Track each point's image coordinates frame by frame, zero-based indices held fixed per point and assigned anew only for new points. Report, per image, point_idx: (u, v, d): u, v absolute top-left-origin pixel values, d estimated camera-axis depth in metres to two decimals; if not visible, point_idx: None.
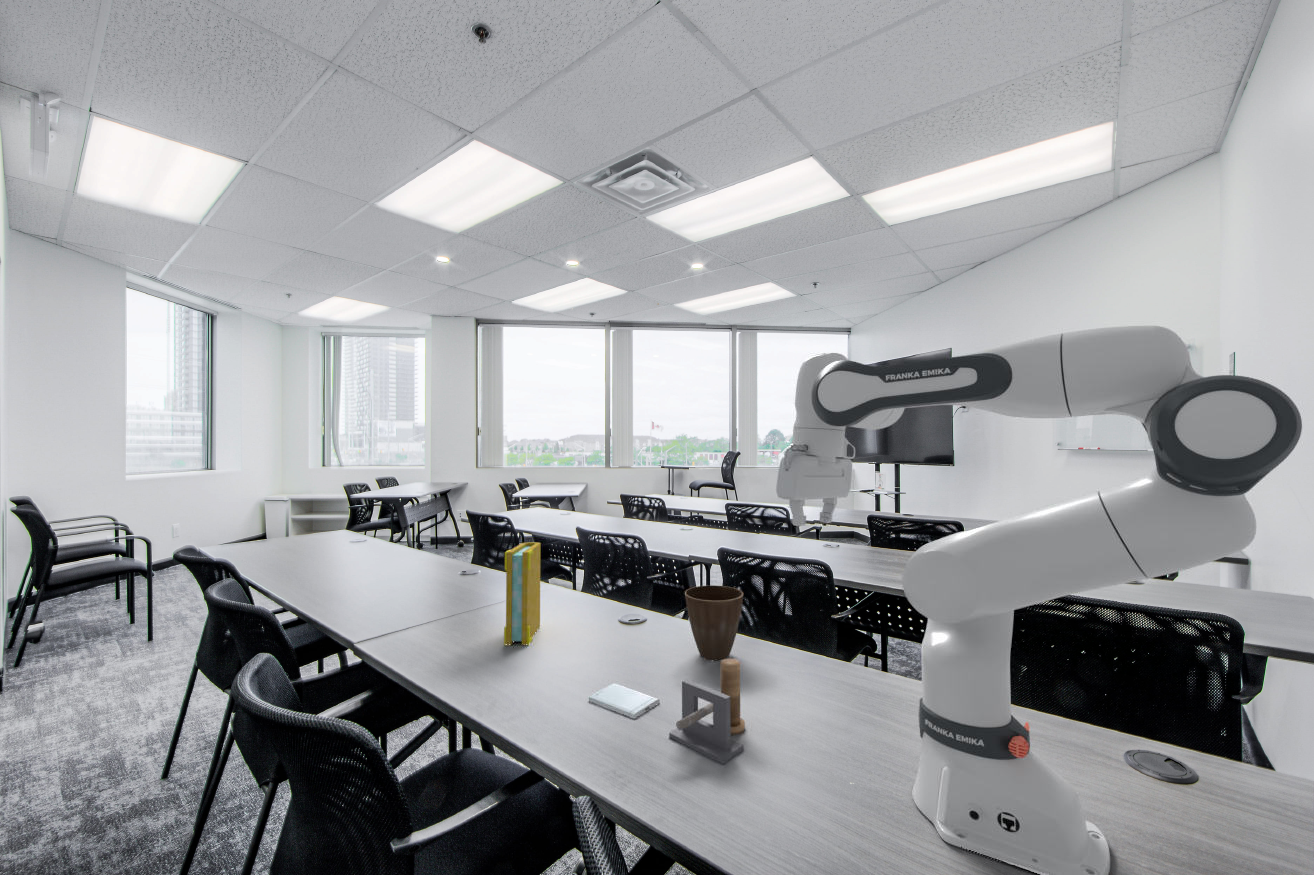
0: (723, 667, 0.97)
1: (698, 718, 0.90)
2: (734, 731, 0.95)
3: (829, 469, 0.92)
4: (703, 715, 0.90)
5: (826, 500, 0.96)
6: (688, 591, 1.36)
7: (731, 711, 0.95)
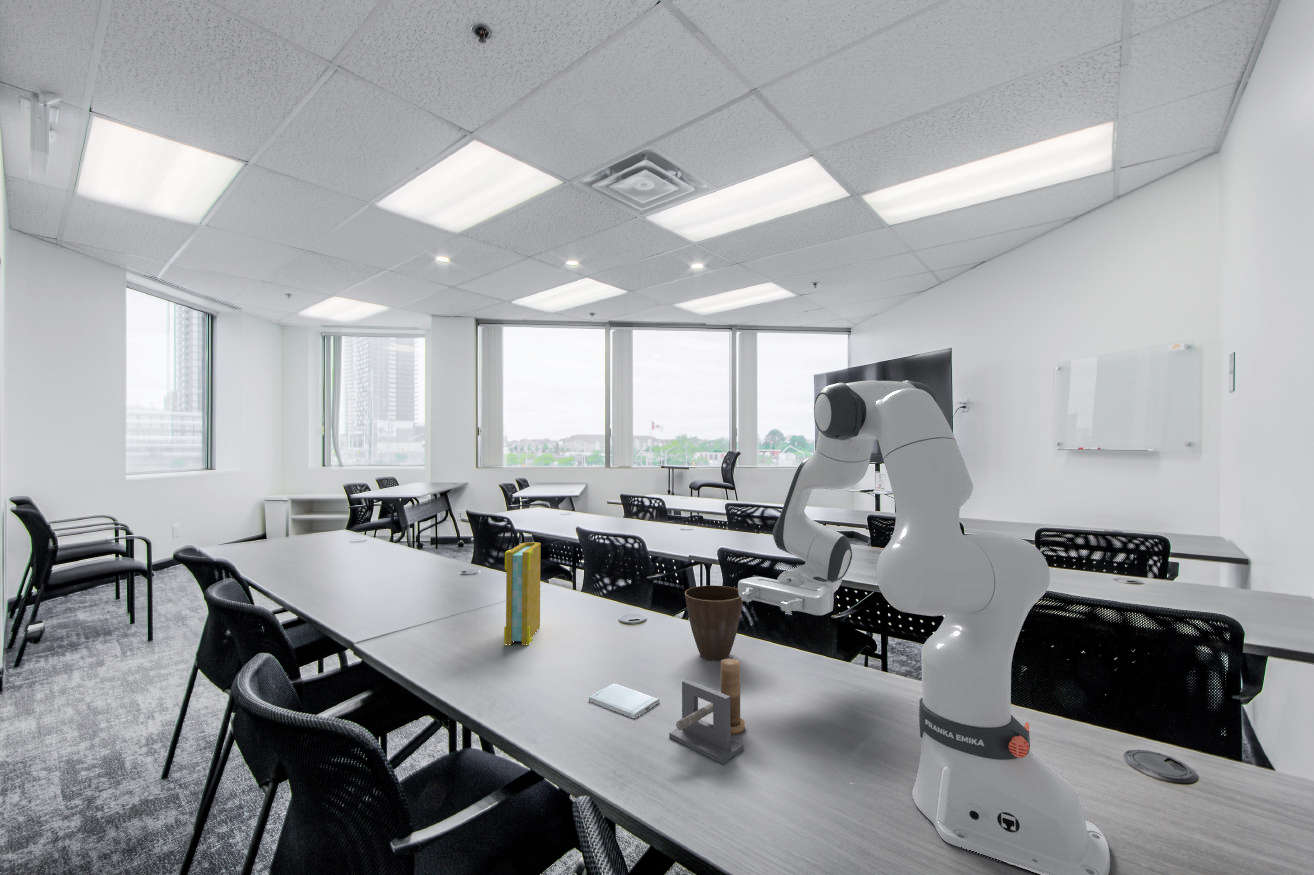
0: (723, 667, 0.97)
1: (698, 718, 0.90)
2: (734, 731, 0.95)
3: (795, 587, 1.12)
4: (703, 715, 0.90)
5: None
6: (688, 591, 1.36)
7: (731, 711, 0.95)
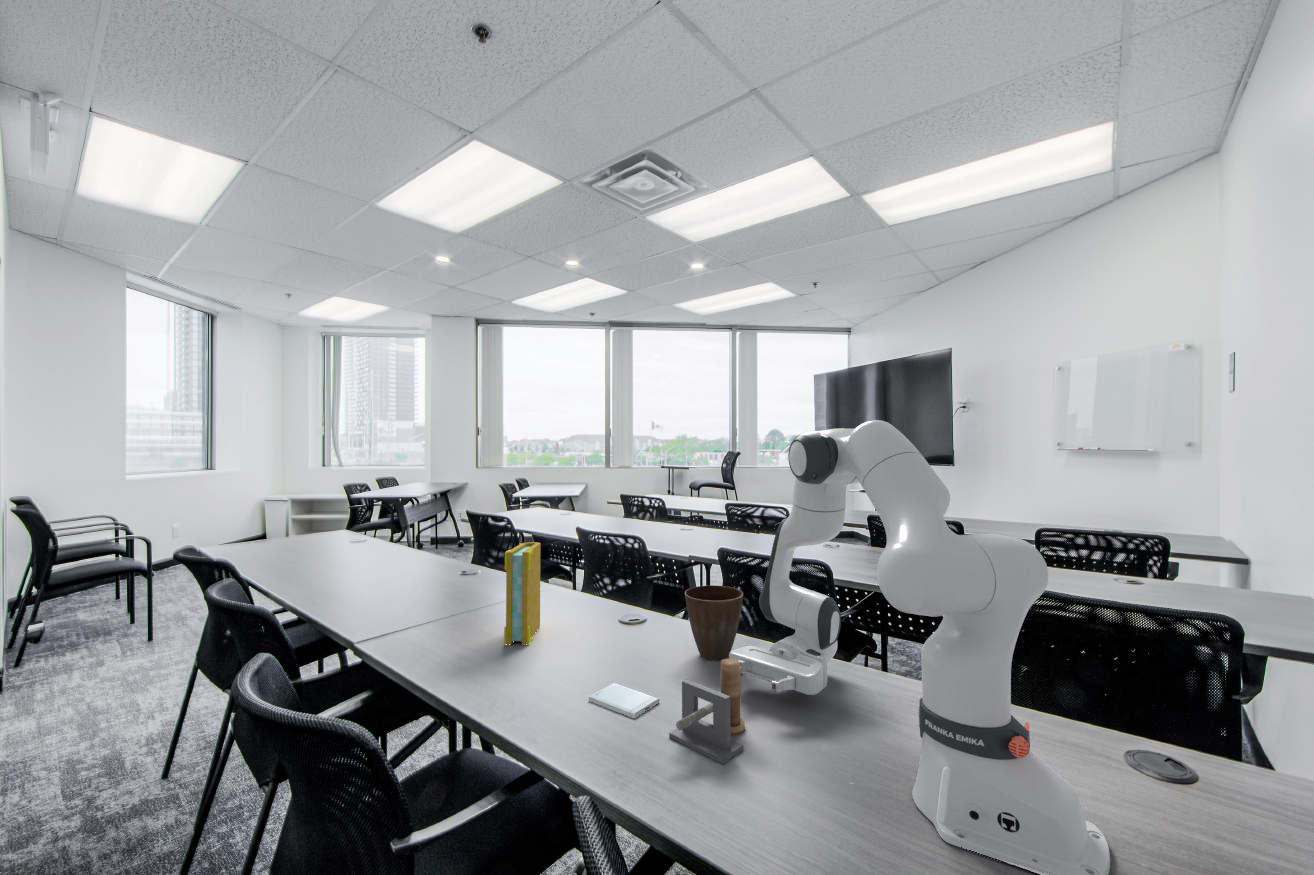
0: (722, 667, 0.97)
1: (698, 718, 0.90)
2: (734, 731, 0.95)
3: (788, 660, 1.09)
4: (703, 715, 0.90)
5: None
6: (688, 591, 1.36)
7: (731, 711, 0.95)
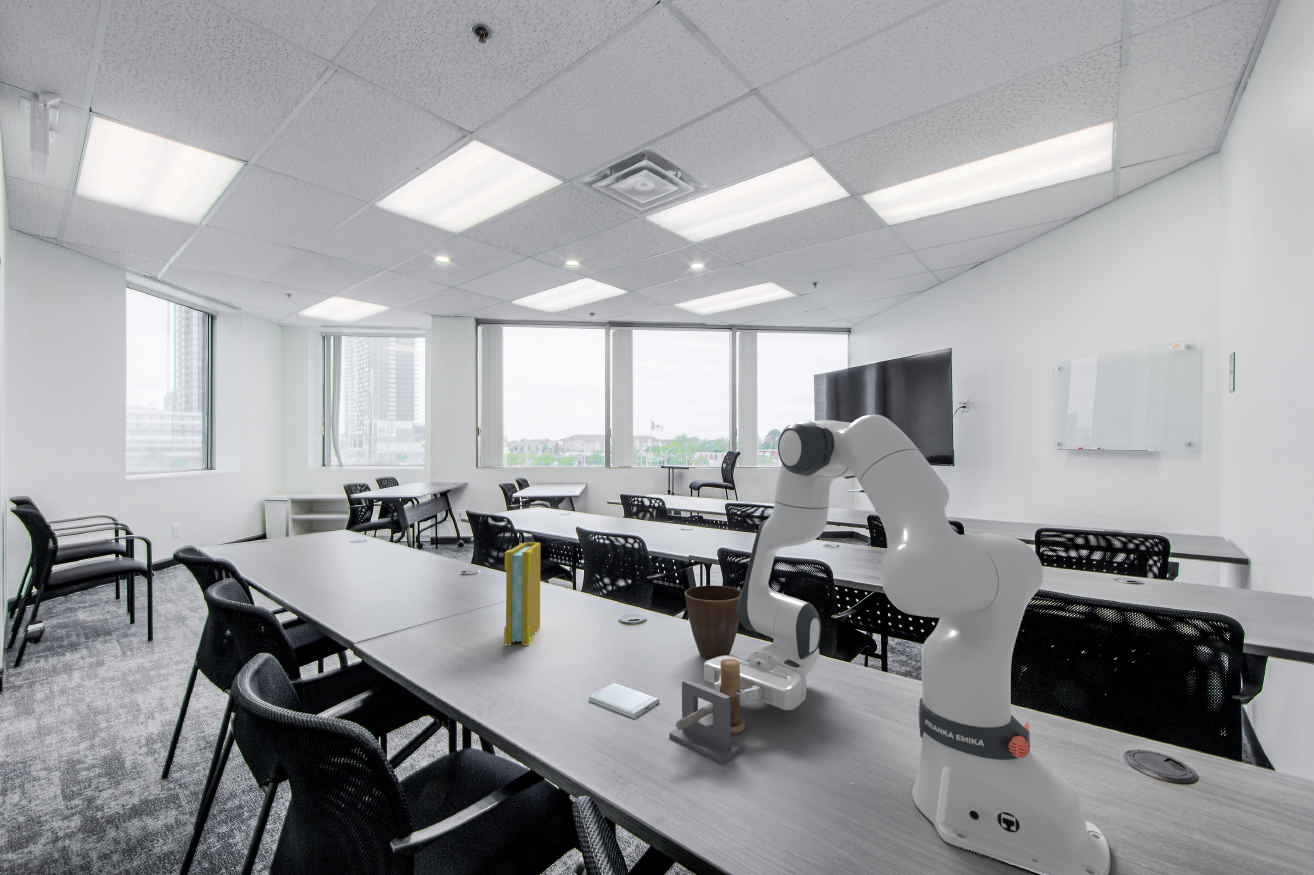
0: (722, 667, 0.97)
1: (698, 718, 0.90)
2: (734, 731, 0.95)
3: (765, 672, 1.03)
4: (703, 715, 0.90)
5: None
6: (688, 591, 1.36)
7: (731, 711, 0.95)
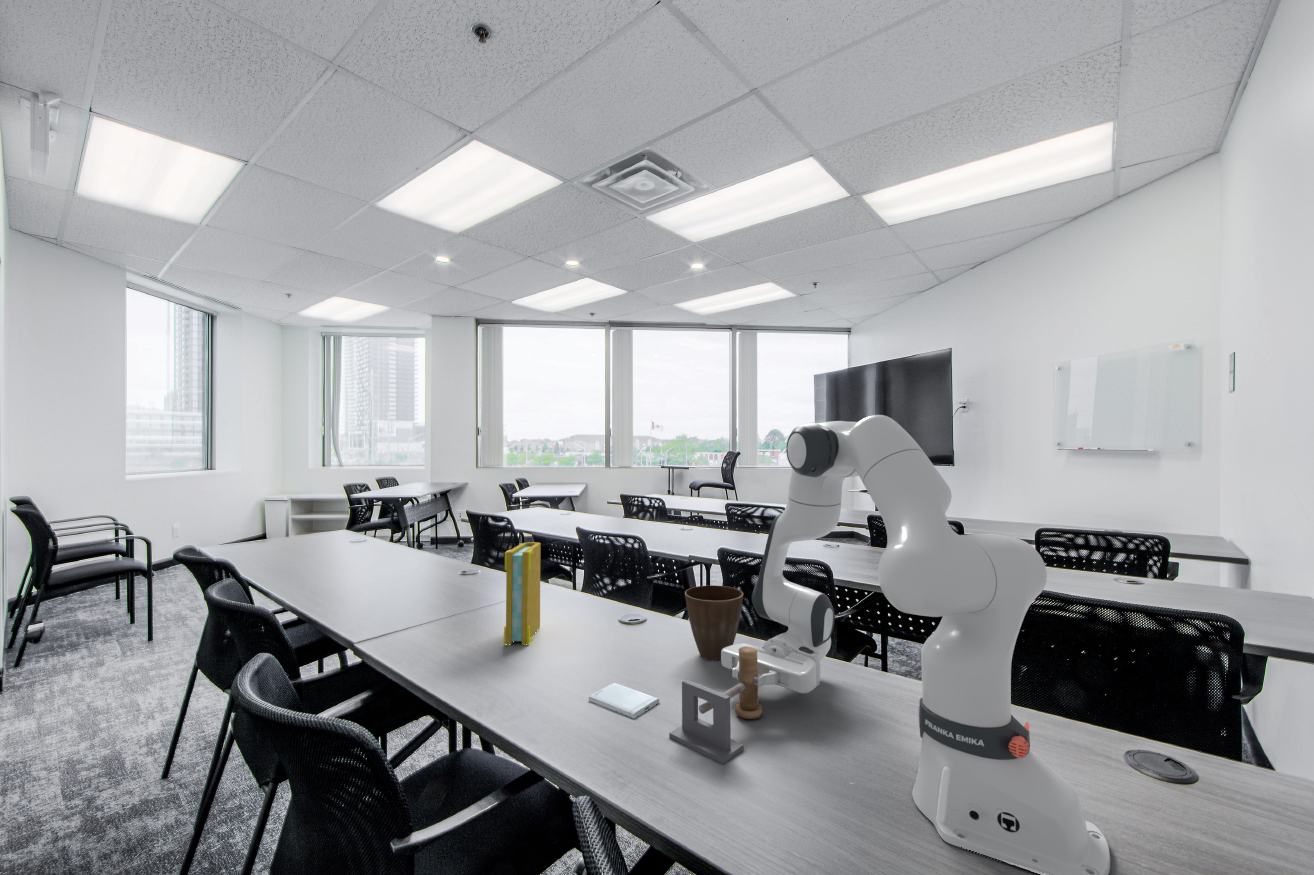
0: (741, 654, 1.01)
1: None
2: (752, 715, 0.99)
3: (780, 658, 1.07)
4: None
5: None
6: (688, 591, 1.36)
7: (749, 696, 1.00)
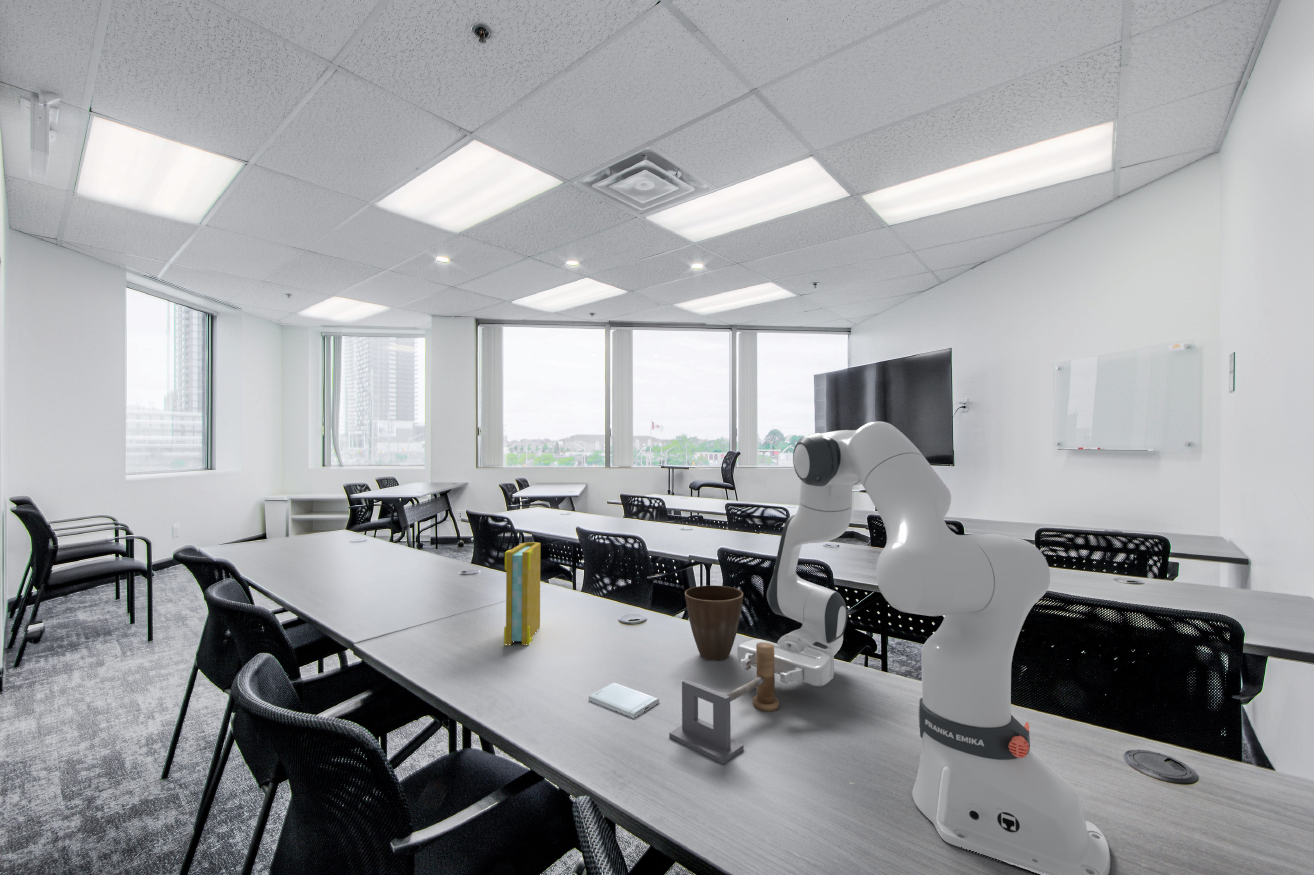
0: (758, 650, 1.05)
1: (739, 695, 0.98)
2: (770, 708, 1.03)
3: (795, 653, 1.11)
4: (743, 693, 0.99)
5: None
6: (688, 591, 1.36)
7: (766, 690, 1.04)
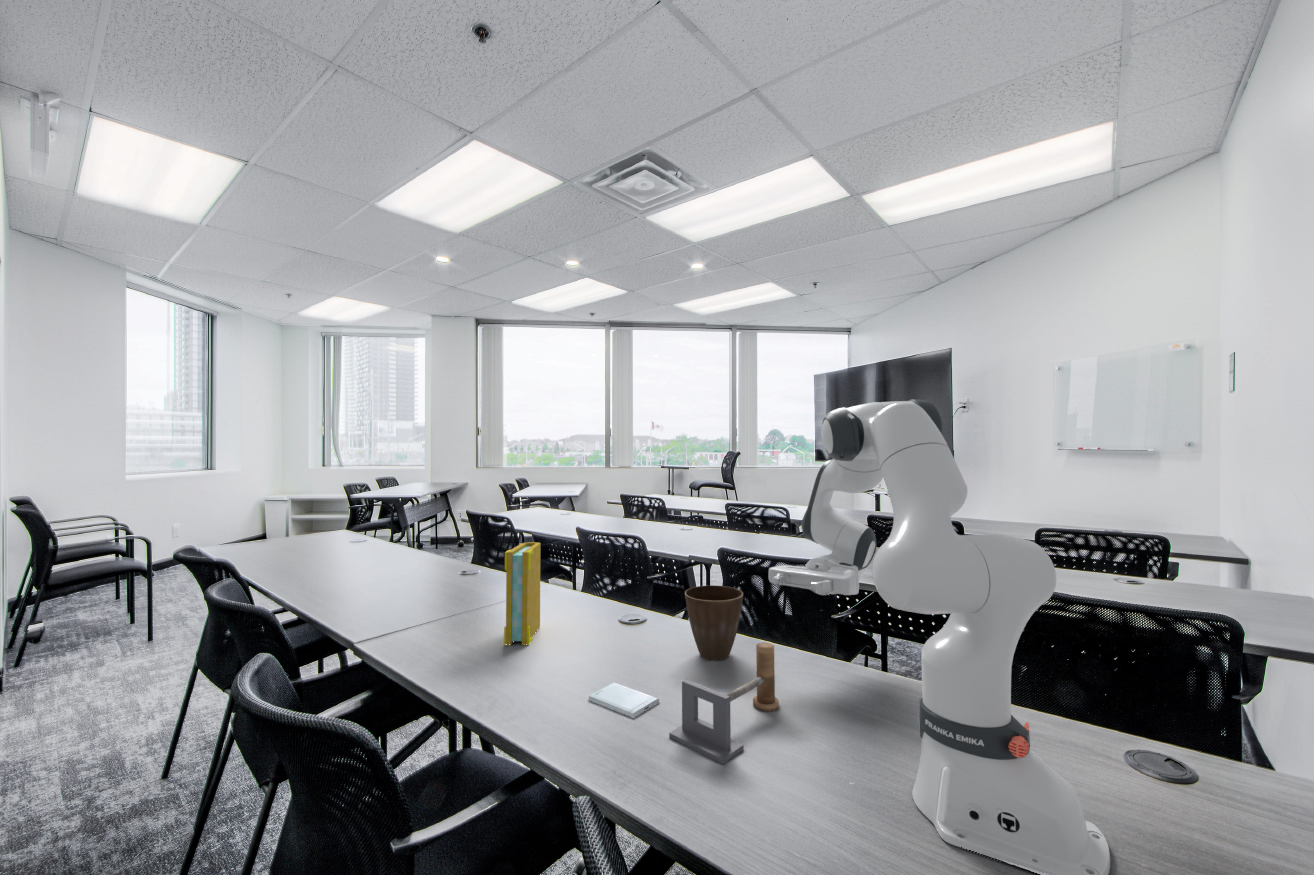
0: (758, 650, 1.05)
1: (739, 695, 0.98)
2: (770, 708, 1.03)
3: (823, 572, 1.21)
4: (743, 693, 0.99)
5: None
6: (688, 591, 1.36)
7: (766, 690, 1.04)
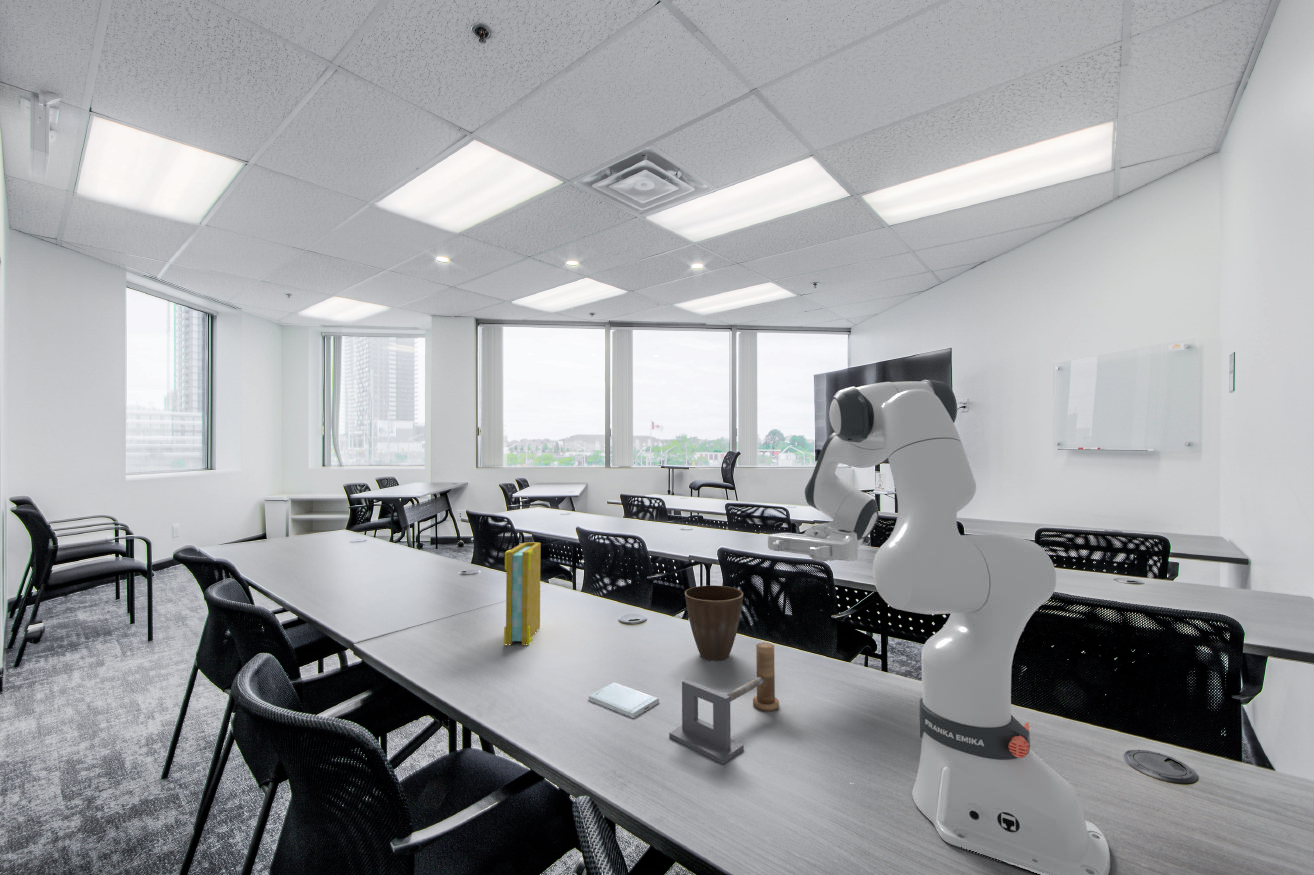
0: (758, 650, 1.05)
1: (739, 695, 0.98)
2: (770, 708, 1.03)
3: (822, 538, 1.21)
4: (743, 693, 0.99)
5: None
6: (688, 591, 1.36)
7: (766, 690, 1.04)
